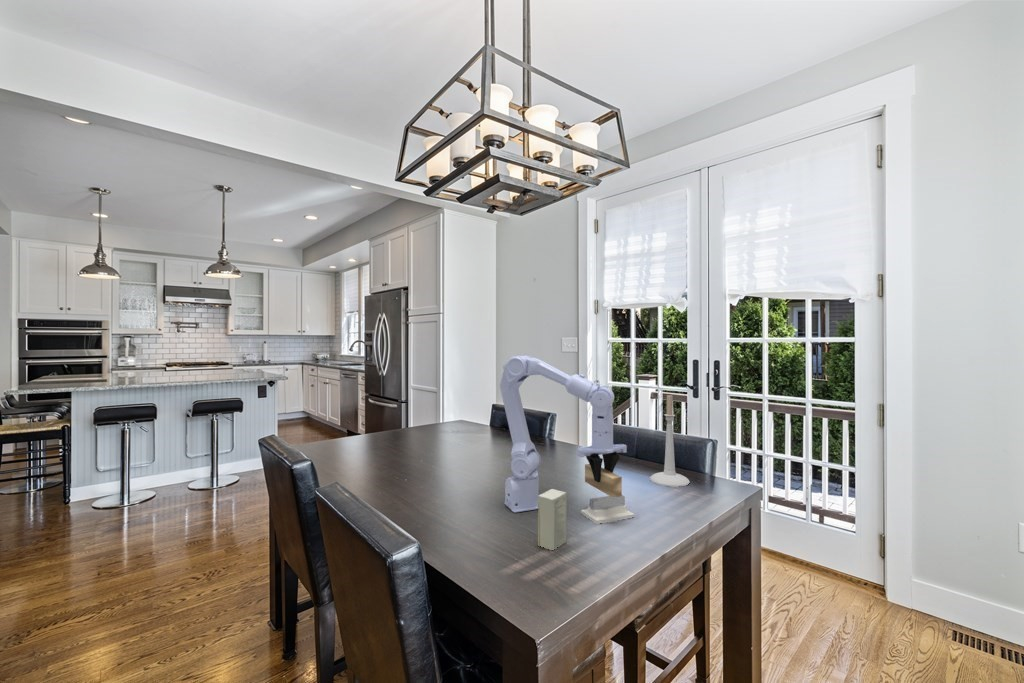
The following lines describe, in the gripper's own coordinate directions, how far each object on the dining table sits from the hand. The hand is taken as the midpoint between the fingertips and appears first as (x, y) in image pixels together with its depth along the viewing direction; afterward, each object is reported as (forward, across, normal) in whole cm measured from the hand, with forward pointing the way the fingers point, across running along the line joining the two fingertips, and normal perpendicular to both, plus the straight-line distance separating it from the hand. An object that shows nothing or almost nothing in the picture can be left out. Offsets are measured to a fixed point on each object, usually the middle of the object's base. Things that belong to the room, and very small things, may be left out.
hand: (602, 480), depth 124 cm
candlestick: (+10, +38, +18) cm, 44 cm away
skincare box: (+10, -20, -10) cm, 25 cm away
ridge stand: (+10, +2, 0) cm, 10 cm away
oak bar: (+2, 0, 0) cm, 2 cm away
